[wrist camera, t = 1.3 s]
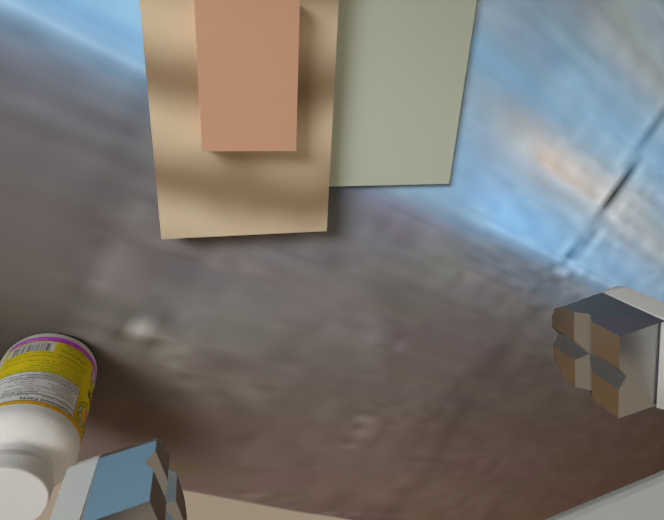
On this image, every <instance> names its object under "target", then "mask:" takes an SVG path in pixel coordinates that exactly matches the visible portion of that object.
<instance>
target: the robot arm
mask: <svg viewBox="0 0 664 520" xmlns="http://www.w3.org/2000/svg"><path fill="white" fill-rule="evenodd" d="M552 327H553V328H554V329H555V330H556V331H557V332H558V333H559V335H558V337H557V339H556V341H555V343H554V345H553V351H554V360H555V362H556V365H557V367H558V369H559V371H560V373H561V374H562V375H563V376H564V378H565V379H566V380H567V381H568V382H570V383H571V384H572V385H574V386H575V387H578V388H582V389H586V390H590V392H591V397H592V400H594V401H595V402H597V403H598V404H599V405H601V406H602V407H603V408H605V409H606V410H607V411H609V412H610V413H612V414H613V415H614V416H616V417H617V418H621V417H624V416H627V415H630V414H633V413H635V412H638V411H641V410H644V409H647V408H650V407H653V406H655V405H657V406H656V407H657V408H660V409H663V410H664V303H663V302H661V301H658V300H656V299H653V298H651V297H649V296H646V295H644V294H641V293H639V292H637V291H634V290H632V289H630V288H627V287H621V286H616V287H613V288H611V289H608V290H605V291H603V292H600V293H597V294H596V295H593V296H590V297H587V298H584V299H581V300H578V301H575V302H573V303H570V304H567V305H564V306H561V307H558V308H555V310H554V313H553V315H552ZM168 469H169V453H168V451H167V449H166V446H165V444H164V442H163V440H162V439H161V438H159V437H158V438H155V439H152V440H148V441H145V442H142V443H138V444H135V445H132V446H129V447H125V448H122V449H119V450H115V451H112V452H109V453H106V454H103V455H102V456H101V455H99V456H96V457H93V458H90V459H87V460H84V461H81V462H78V463H75V464H73V465H71V466H70V467H69V468H68V469H67V471H66V474H65V477H64V480H63V483H62V485H61V488H60V491H59V494H58V497H57V500H56V503H55V506H54V508H53V511H52V514H51V517H50V520H187V515H186V507H185V500H184V495H183V491H182V488H181V484H180V482H179V479H178V476H177V474H175V473H173V472H171V471H169V470H168ZM545 520H664V470H662V471H660V472H658V473H655V474H653V475H650V476H648V477H646V478H643V479H641V480H638V481H636V482H634V483H631V484H629V485H626V486H624V487H622V488H619V489H617V490H614V491H612V492H609V493H607V494H605V495H602V496H600V497H597V498H595V499H593V500H590V501H588V502H585V503H583V504H581V505H578V506H576V507H573V508H571V509H569V510H566V511H564V512H562V513H559V514H557V515H554V516H552V517H550V518H547V519H545Z"/></svg>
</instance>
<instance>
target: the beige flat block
mask: <svg viewBox="0 0 664 520" xmlns="http://www.w3.org/2000/svg"><path fill="white" fill-rule="evenodd" d="M338 7H339V0H300V12H299V53H298V94H297V135H296V151H202V148H201V138H200V119H199V100H198V81H197V62H196V43H195V24H194V4H193V0H140V10H141V21H142V32H143V43H144V54H145V65H146V76H147V87H148V98H149V109H150V120H151V131H152V142H153V153H154V164H155V175H156V185H157V196H158V207H159V218H160V229H161V239H177V238H197V237H217V236H237V235H258V234H278V233H298V232H318V231H327V217H328V198H329V179H330V160H331V141H332V122H333V103H334V84H335V65H336V45H337V26H338Z"/></svg>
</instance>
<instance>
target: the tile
mask: <svg viewBox="0 0 664 520" xmlns="http://www.w3.org/2000/svg"><path fill="white" fill-rule="evenodd" d="M193 4H194V24H195V43H196V62H197V81H198V100H199V119H200V138H201V148H202V151H296V135H297V94H298V53H299V12H300V0H193Z"/></svg>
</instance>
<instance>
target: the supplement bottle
mask: <svg viewBox="0 0 664 520" xmlns="http://www.w3.org/2000/svg"><path fill="white" fill-rule="evenodd" d="M96 376H97V364H96V361H95V358H94V356H93V354H92V352H91V351H90V350H89V349H88V348H87V347H86V346H85V345H84V344H83V343H82V342H80V341H79V340H77V339H74V338H72V337H69V336H66V335H62V334H56V333H42V334H36V335H32V336H29V337H26V338H24V339H22V340H20V341H19V342H17V343H16V344H14V345H13V346H12V347H11V348H10V349H9V350H8V351H7V352H6V353H5V355H4V356H3V358H2V360H1V362H0V520H35V519H36V518H38V517H39V516H40V515H41V514H42V513H43V512H44V511H45V509H46V507H47V505H48V503H49V500H50V497H51V493H52V490H53V487H55V486H56V485H57V484H59V483H60V482H61V481H62V480H64V477H65V474H66V471H67V469H68V468H69V467H70V466H71V465H73V464H75V463H76V461H77V459H78V455H79V452H80V447H81V443H82V438H83V434H84V430H85V425H86V421H87V417H88V412H89V407H90V404H91V400H92V395H93V391H94V386H95V381H96Z"/></svg>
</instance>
